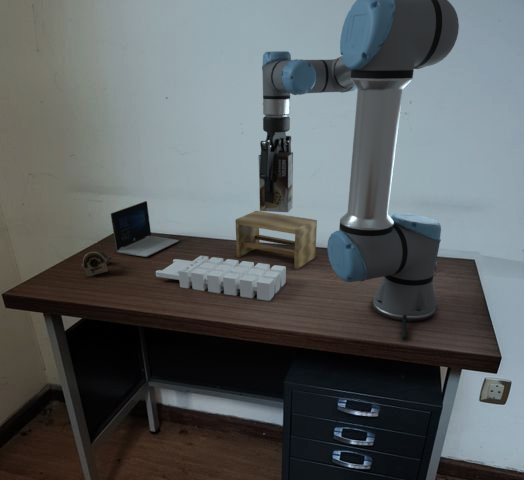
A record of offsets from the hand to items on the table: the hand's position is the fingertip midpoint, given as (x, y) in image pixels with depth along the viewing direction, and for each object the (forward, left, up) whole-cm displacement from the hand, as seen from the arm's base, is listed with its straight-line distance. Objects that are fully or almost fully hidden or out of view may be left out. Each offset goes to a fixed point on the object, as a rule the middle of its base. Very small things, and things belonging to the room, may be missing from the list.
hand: (276, 199), depth 150 cm
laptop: (-14, +42, -18) cm, 48 cm away
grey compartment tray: (-27, +3, -18) cm, 32 cm away
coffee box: (0, 0, -3) cm, 3 cm away
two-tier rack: (0, 0, -18) cm, 18 cm away
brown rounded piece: (-37, +40, -18) cm, 57 cm away
